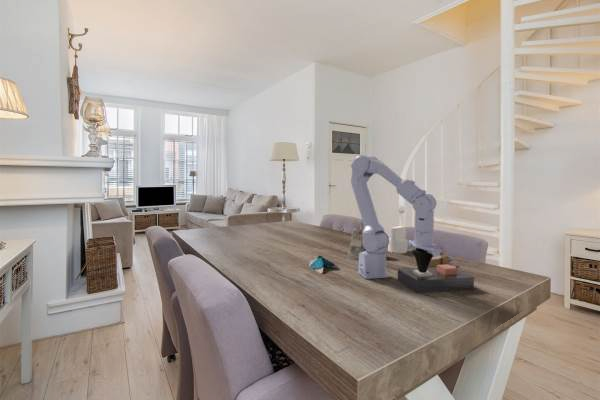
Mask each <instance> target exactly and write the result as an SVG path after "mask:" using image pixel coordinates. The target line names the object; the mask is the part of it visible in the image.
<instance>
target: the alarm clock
mask: <svg viewBox="0 0 600 400" xmlns="http://www.w3.org/2000/svg"><path fill="white" fill-rule="evenodd" d="M411 259H412V260H413V263H414V264H415V265H416V266H417V262H416V259H415V256H414V255H413V257H411ZM452 260H453V259H452V257H451V256H449V255H448V256H447V255H445V254H443V253H442V252H441V251H440V256H433V257H432V259H431V261H430V263H429V265H428V268H430V267H437V265H446V264H448V265H449V263H450V262H452Z"/></svg>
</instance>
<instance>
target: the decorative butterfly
mask: <svg viewBox="0 0 600 400" xmlns="http://www.w3.org/2000/svg"><path fill="white" fill-rule="evenodd" d="M328 256H330V255H329V254H328V255H327V257H328ZM324 266H325V267H329V268H334V269H339V270H340V267H339V266H338V265H336V264H335V263H333V262H332V261H330V260H328V259H327V258H325V257H324V256H323V255H316V256H314V259H312V260H310V262H309V264H308V267H309V268H310V269H311V270H314V271H316V272H318V273H319V274H323V272H324Z"/></svg>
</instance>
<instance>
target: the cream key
mask: <svg viewBox="0 0 600 400" xmlns="http://www.w3.org/2000/svg"><path fill="white" fill-rule="evenodd" d="M413 273H414V274H416V275H418V276H419V277H423V276H432V274H433V273H431V272H429V271H427V272H422V273H421V272H419V271H418V270H413Z"/></svg>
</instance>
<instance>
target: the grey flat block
mask: <svg viewBox="0 0 600 400" xmlns="http://www.w3.org/2000/svg"><path fill="white" fill-rule="evenodd" d="M413 270H418V267H417V268H416V267H415V268H399V269H397V281H398V282H399V283H401V284H402V285H404V286H405V287H407V288H408V289H409V290H411V291H413V292H414V293H416V294H424V293H425V294H426V293H427V294H428V293H439V292H453V291H454V292H455V291H469V290H474V287H475V285H474V284H475V283H474V282H475V276H473V275H471V274H469V273H466V272H463V271H461V270H458V269H457V274H455V275H443V274H441V273H439V272H437V267H428V269H427V271H429V272H431V273H433V274H432V276H423V277H419V276H418V275H416V274H414V273H413Z"/></svg>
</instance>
